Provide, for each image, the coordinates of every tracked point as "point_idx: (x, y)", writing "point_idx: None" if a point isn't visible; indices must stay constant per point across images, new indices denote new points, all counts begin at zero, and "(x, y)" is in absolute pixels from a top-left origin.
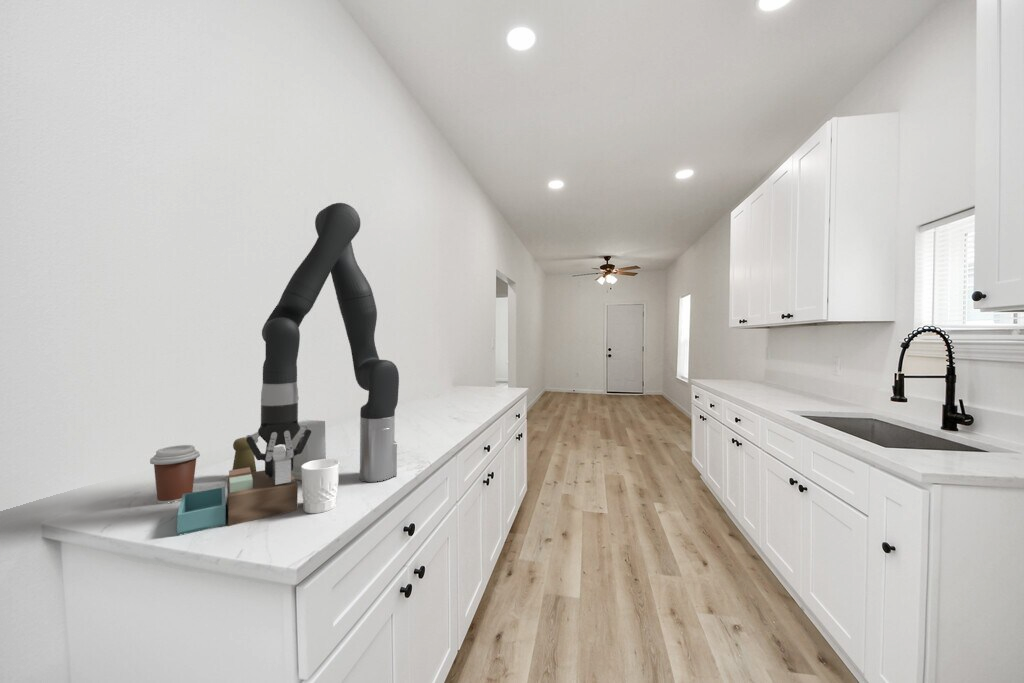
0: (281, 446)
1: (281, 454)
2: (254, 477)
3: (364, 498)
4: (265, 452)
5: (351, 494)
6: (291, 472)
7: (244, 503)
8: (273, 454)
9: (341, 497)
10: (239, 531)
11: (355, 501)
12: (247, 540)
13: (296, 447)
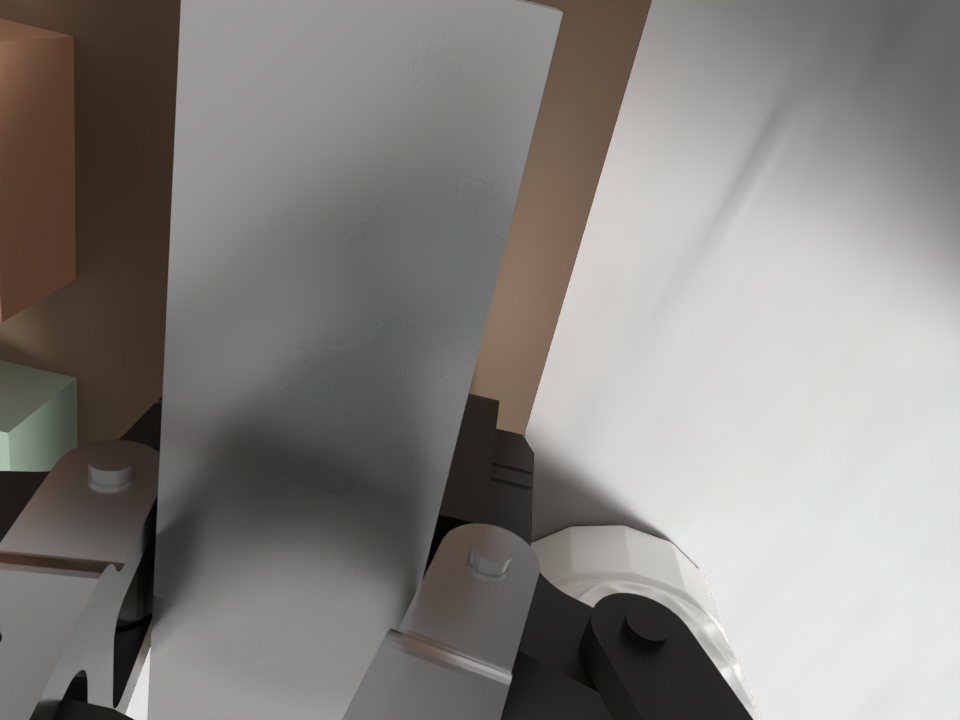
0: (523, 7)
1: (294, 691)
2: (123, 188)
3: (890, 699)
4: (19, 530)
5: (897, 579)
6: (548, 351)
7: None
8: (177, 602)
9: (808, 573)
10: None
11: (814, 695)
12: (138, 684)
13: (605, 697)
